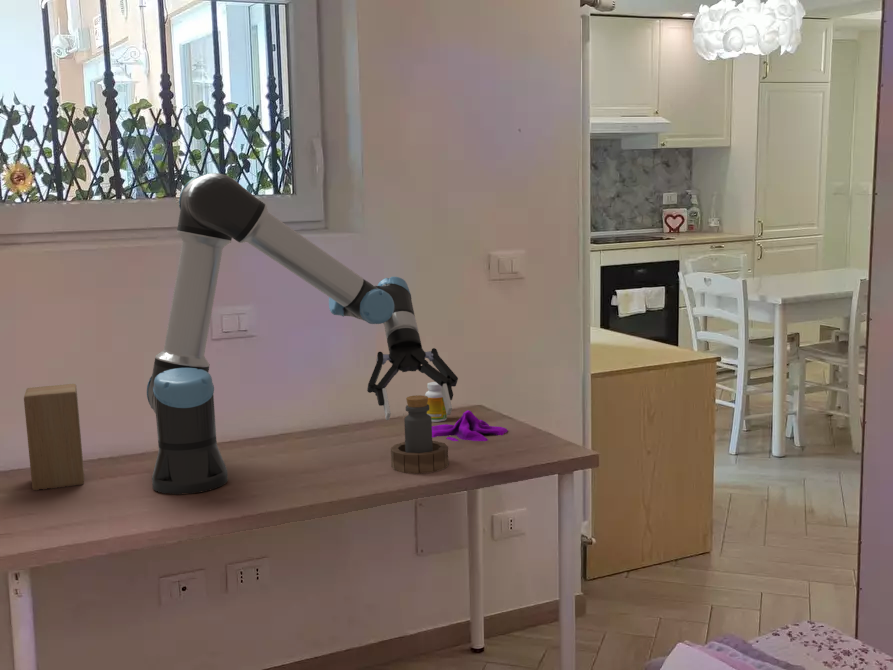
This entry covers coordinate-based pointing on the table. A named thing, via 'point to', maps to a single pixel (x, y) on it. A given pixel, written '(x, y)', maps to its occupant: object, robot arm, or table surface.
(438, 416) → the supplement bottle
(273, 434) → the table surface
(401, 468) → the bead ring
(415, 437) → the bottle
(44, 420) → the wooden block
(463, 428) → the cloth
